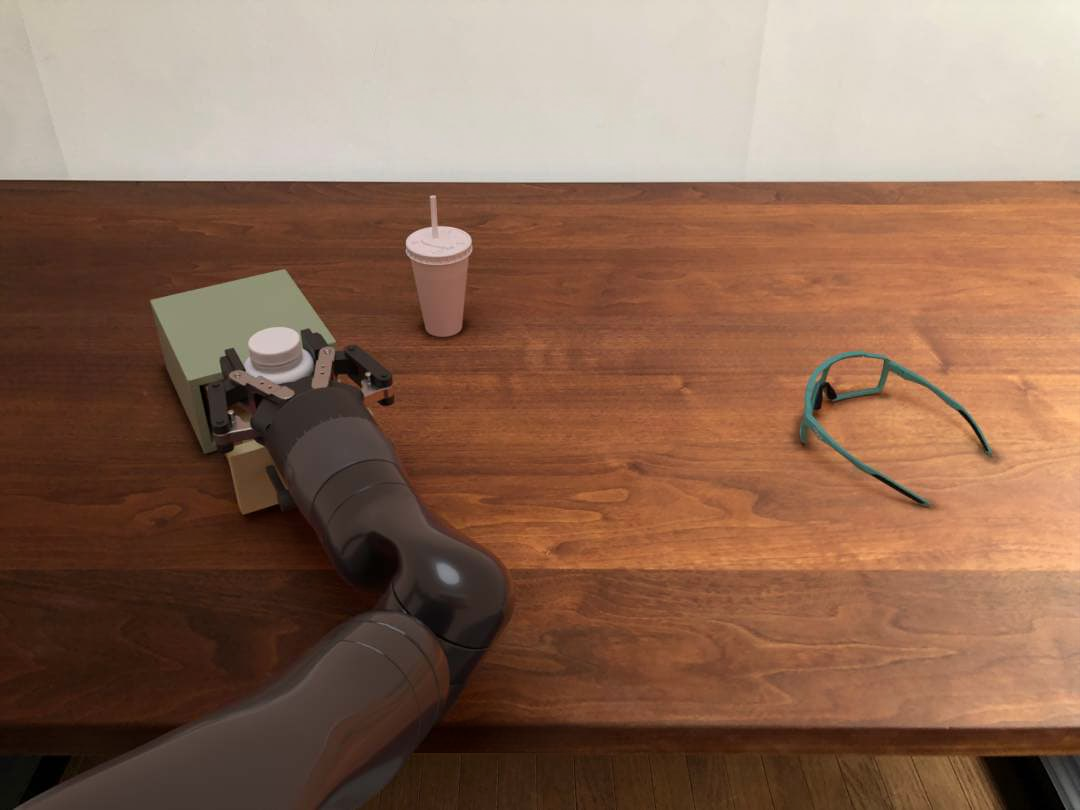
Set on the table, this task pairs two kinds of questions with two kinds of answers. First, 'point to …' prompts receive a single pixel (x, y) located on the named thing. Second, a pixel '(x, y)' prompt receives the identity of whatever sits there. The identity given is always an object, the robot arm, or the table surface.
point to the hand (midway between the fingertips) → (269, 348)
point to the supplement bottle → (278, 356)
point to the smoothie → (440, 274)
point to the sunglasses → (821, 385)
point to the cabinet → (224, 332)
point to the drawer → (254, 470)
